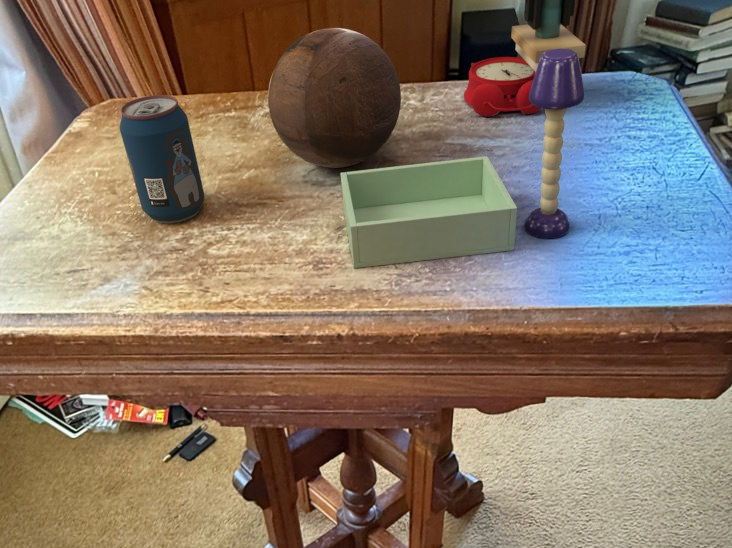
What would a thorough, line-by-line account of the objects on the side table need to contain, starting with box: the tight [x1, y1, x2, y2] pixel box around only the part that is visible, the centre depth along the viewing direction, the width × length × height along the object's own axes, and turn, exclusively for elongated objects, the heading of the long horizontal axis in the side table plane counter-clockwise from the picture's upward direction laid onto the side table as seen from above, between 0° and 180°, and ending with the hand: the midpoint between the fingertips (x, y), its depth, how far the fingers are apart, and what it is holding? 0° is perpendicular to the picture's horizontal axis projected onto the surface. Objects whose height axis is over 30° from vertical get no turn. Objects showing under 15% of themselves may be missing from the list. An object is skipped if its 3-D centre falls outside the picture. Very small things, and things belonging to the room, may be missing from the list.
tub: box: [340, 155, 518, 269], centre depth 71 cm, size 15×11×4 cm
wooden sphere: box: [267, 27, 402, 169], centre depth 81 cm, size 15×15×15 cm
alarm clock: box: [463, 56, 543, 118], centre depth 94 cm, size 10×6×15 cm
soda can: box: [119, 94, 205, 225], centre depth 76 cm, size 7×7×12 cm
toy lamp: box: [524, 49, 585, 239], centre depth 65 cm, size 5×5×17 cm
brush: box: [510, 0, 587, 72], centre depth 89 cm, size 11×6×10 cm, turn 4°
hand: (548, 23), depth 89 cm, fingers closed on brush, 3 cm apart
